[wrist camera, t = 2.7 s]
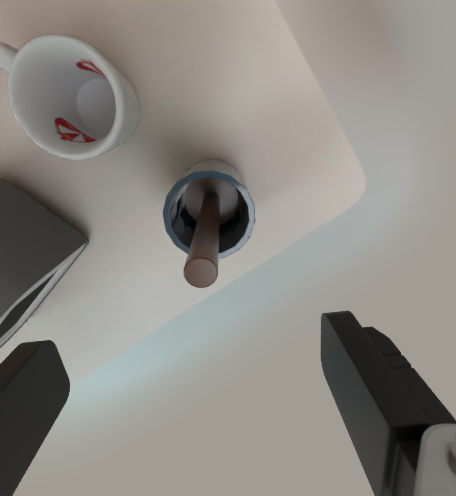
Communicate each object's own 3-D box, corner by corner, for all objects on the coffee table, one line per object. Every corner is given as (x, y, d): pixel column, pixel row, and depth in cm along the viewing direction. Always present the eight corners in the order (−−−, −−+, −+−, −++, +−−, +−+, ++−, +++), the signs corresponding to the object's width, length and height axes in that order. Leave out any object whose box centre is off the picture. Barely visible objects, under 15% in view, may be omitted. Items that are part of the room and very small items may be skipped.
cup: (22, 105, 28) (-52, 95, 20) (52, 18, 25) (-18, -29, 18) (127, 168, 30) (95, 181, 23) (164, 94, 28) (143, 81, 20)
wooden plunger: (235, 166, 30) (251, 213, 13) (240, 217, 32) (260, 314, 15) (183, 172, 30) (133, 226, 13) (191, 222, 32) (156, 325, 15)
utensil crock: (243, 156, 30) (251, 165, 21) (248, 222, 32) (257, 254, 24) (174, 163, 30) (155, 176, 22) (185, 229, 33) (172, 263, 24)
